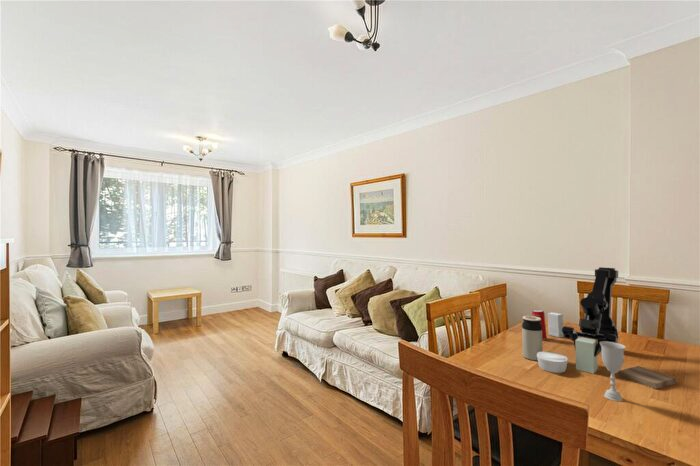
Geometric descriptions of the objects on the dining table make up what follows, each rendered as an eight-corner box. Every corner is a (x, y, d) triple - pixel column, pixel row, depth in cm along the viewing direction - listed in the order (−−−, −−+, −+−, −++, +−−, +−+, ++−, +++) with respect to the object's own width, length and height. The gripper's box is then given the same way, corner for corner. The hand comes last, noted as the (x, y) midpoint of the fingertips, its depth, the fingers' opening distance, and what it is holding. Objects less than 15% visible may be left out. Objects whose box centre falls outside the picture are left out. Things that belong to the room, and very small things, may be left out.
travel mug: (523, 359, 148) (522, 319, 148) (521, 353, 155) (521, 315, 155) (544, 361, 145) (543, 320, 145) (541, 355, 152) (540, 316, 152)
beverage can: (548, 340, 173) (547, 311, 173) (534, 340, 174) (534, 311, 174) (544, 337, 178) (543, 309, 178) (531, 336, 180) (530, 308, 180)
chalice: (595, 392, 117) (594, 341, 117) (613, 391, 117) (612, 340, 117) (613, 403, 110) (612, 349, 110) (632, 402, 110) (631, 348, 110)
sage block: (580, 365, 141) (579, 337, 141) (597, 369, 136) (596, 340, 136) (575, 369, 137) (575, 340, 137) (593, 373, 132) (593, 343, 132)
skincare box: (564, 336, 179) (563, 314, 179) (558, 337, 177) (558, 315, 177) (552, 333, 184) (552, 311, 184) (547, 334, 182) (547, 312, 182)
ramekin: (557, 376, 130) (557, 363, 130) (530, 366, 140) (530, 354, 140) (574, 370, 136) (573, 358, 136) (547, 361, 145) (546, 349, 145)
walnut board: (638, 370, 134) (638, 366, 134) (675, 383, 123) (675, 378, 123) (618, 375, 130) (618, 370, 130) (656, 389, 119) (655, 383, 119)
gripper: (562, 307, 146) (554, 338, 139) (616, 314, 132) (610, 349, 125) (568, 322, 151) (561, 352, 144) (620, 330, 137) (615, 364, 130)
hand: (585, 354), depth 136 cm, fingers closed on sage block, 6 cm apart
